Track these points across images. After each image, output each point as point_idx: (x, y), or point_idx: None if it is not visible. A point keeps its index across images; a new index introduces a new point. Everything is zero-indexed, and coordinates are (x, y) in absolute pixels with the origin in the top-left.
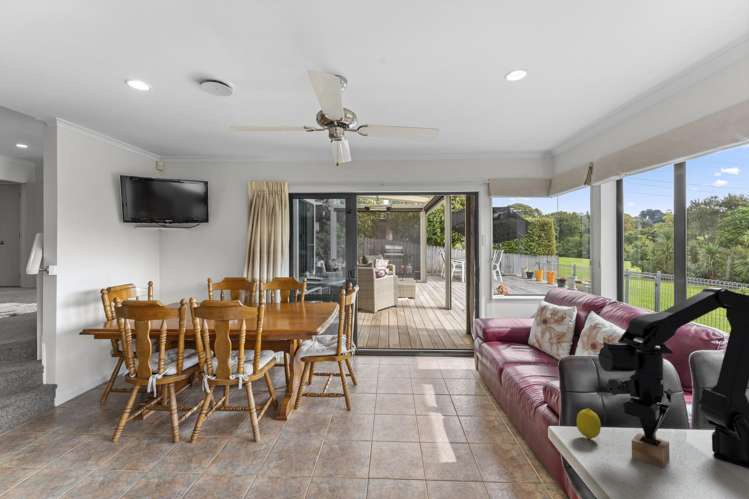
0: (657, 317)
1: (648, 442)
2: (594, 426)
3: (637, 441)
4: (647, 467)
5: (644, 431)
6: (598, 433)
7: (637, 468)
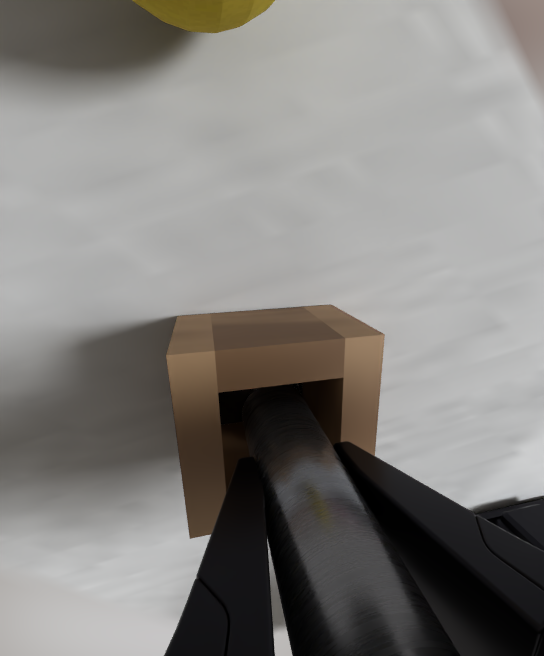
0: None
1: (248, 440)
2: None
3: (183, 394)
4: (125, 410)
5: (222, 505)
6: (178, 26)
7: (54, 384)
